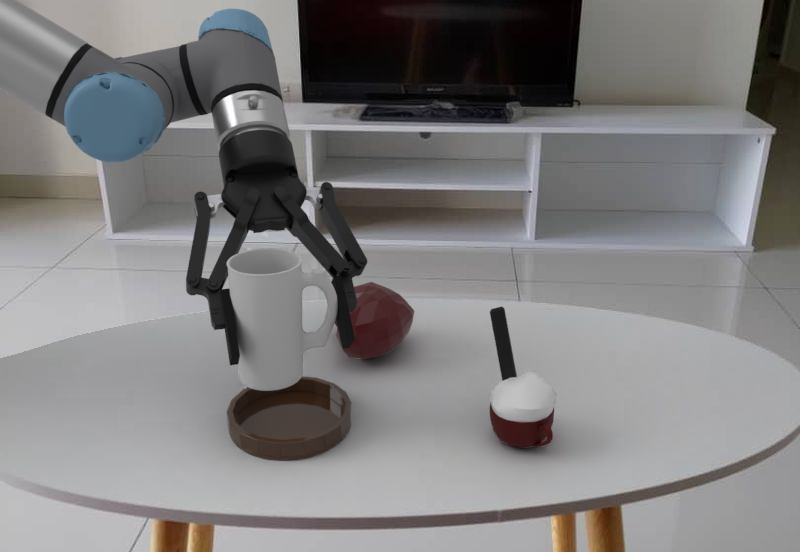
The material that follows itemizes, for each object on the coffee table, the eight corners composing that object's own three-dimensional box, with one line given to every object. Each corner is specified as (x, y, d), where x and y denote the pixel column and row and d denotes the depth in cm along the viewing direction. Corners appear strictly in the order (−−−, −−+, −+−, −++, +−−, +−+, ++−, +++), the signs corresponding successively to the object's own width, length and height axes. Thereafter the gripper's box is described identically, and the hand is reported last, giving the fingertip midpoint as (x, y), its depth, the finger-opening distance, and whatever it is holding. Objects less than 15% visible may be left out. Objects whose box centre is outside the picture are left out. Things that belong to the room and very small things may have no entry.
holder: (238, 471, 68) (237, 453, 68) (221, 402, 79) (220, 385, 78) (366, 447, 72) (366, 429, 71) (333, 383, 83) (333, 368, 82)
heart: (407, 316, 97) (332, 331, 96) (401, 262, 94) (323, 277, 93) (428, 363, 86) (344, 380, 85) (422, 304, 83) (334, 321, 82)
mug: (235, 396, 70) (225, 277, 65) (236, 360, 76) (227, 249, 71) (342, 387, 71) (341, 270, 67) (335, 353, 77) (333, 244, 73)
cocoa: (561, 463, 70) (575, 350, 66) (495, 465, 70) (504, 351, 65) (537, 408, 79) (548, 305, 74) (478, 409, 79) (485, 306, 74)
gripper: (137, 132, 70) (165, 358, 62) (367, 120, 77) (417, 322, 70) (142, 173, 77) (167, 382, 69) (353, 158, 84) (398, 346, 76)
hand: (293, 352), depth 69 cm, fingers closed on mug, 10 cm apart
